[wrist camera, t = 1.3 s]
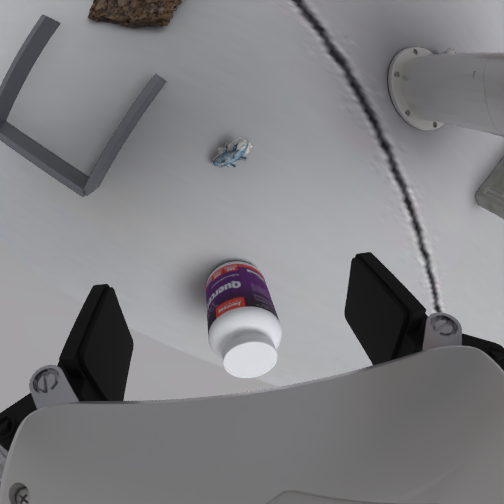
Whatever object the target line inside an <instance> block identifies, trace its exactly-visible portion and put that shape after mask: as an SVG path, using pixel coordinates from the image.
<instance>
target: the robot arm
mask: <svg viewBox="0 0 504 504" xmlns="http://www.w3.org/2000/svg"><path fill="white" fill-rule="evenodd" d="M388 85H389V91H390V96H391V99H392V101H393V104H394V106H395V108H396V110H397V111H398V113H399V114H400V115H401V117H402V118H403V119H404V120H405V121H406V122H407V123H408V124H410V125H411V126H413V127H415V128H417V129H420V130H425V131H433V130H437V129H439V128H440V127H442V126H443V125H444V124H451V125H456V126H461V127H465V128H470V129H474V130H479V131H483V132H487V133H491V134H494V135H498V136H502V137H504V53H458V54H456V52H455V51H454V49H452V48H448V49H447V50H446V52H445V54H434V53H432V52H431V51H429V50H427V49H424V48H421V47H409V48H406V49H403V50H401V51H400V52H398V53H397V54H396V56H395V57H394V58H393V60H392V62H391V64H390V68H389V74H388ZM425 312H426V309H425V308H424V307H423V305H422V304H421V303H420V302H419V301H418V300H417V299H416V298H415V297H414V296H413V295H412V294H411V293H410V292H409V291H408V289H407V288H406V287H405V286H404V285H403V284H402V283H401V282H400V281H399V280H398V279H397V278H396V277H395V276H394V275H393V274H392V273H391V272H390V271H389V270H388V269H387V268H386V267H385V266H384V265H383V264H382V263H381V262H380V261H379V260H378V259H377V258H376V257H375V256H374V255H373V254H372V253H370V252H367V253H360V254H357V255H356V256H355V258H353V259H352V261H351V269H350V277H349V285H348V292H347V299H346V305H345V318H346V320H347V322H348V324H349V325H350V327H351V329H352V330H353V332H354V334H355V335H356V337H357V338H358V340H359V342H360V343H361V345H362V347H363V348H364V350H365V352H366V354H367V355H368V357H369V359H370V360H371V362H372V364H373V366H369V367H366V368H362V369H358V370H355V371H351V372H347V373H343V374H339V375H335V376H330V377H326V378H322V379H317V380H312V381H308V382H303V383H298V384H293V385H287V386H282V387H276V388H270V389H264V390H258V391H251V392H244V393H236V394H229V395H219V396H211V397H199V398H188V399H174V400H173V399H172V400H151V401H150V400H149V401H123V399H124V393H125V387H126V382H127V377H128V371H129V366H130V361H131V356H132V351H133V339H132V337H131V334H130V332H129V329H128V327H127V324H126V321H125V319H124V316H123V313H122V311H121V308H120V305H119V302H118V299H117V297H116V294H115V291H114V289H113V288H112V287H109V285H108V284H102V285H94V286H93V287H92V289H91V291H90V293H89V295H88V297H87V299H86V301H85V303H84V305H83V307H82V309H81V311H80V313H79V315H78V317H77V319H76V322H75V324H74V326H73V328H72V330H71V332H70V335H69V337H68V339H67V341H66V343H65V346H64V348H63V350H62V353H61V355H60V358H59V363H58V365H57V366H56V365H47V366H44V367H42V368H40V369H39V370H37V371H36V372H35V373H34V374H33V375H32V377H31V379H30V383H29V388H30V391H31V393H30V394H28V395H27V396H25V397H24V398H22V399H21V400H19V401H18V402H17V403H15V404H13V405H12V406H10V407H9V408H7V409H6V410H4V411H3V412H1V413H0V504H504V348H503V347H502V346H501V345H499V344H496V343H494V342H490V341H487V340H483V339H480V338H476V337H473V336H469V335H466V334H462V328H461V325H460V323H459V322H458V320H456V319H455V318H454V317H453V316H451V315H449V314H446V313H433V314H431V315H430V316H429V317H428V316H427V315H426V314H425Z"/></svg>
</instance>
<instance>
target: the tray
mask: <svg viewBox="0 0 504 504" xmlns="http://www.w3.org/2000/svg"><path fill="white" fill-rule="evenodd" d="M59 25H60V23H59V22H57V21H55V20H53V19H51V18H49V17H47V16H45V15H42V16H41V17H40V19H39V20H38V22H37V23H36V25H35V26H34V28H33V29H32V31H31V32H30V34H29V35H28V37H27V38H26V40H25V42H24V43H23V45H22V47H21V48H20V50H19V52H18V53H17V55H16V57H15V59H14V61H13V62H12V64H11V66H10V68H9V70H8V72H7V74H6V76H5V78H4V80H3V82H2V84H1V86H0V140H1V141H2V142H4V143H5V144H6V145H8V146H9V147H11V148H12V149H13V150H15V151H16V152H18V153H19V154H20V155H22V156H23V157H25V158H26V159H27V160H29V161H30V162H32V163H33V164H35V165H36V166H38V167H39V168H40V169H42V170H43V171H45V172H46V173H48V174H49V175H51V176H52V177H54V178H55V179H57V180H58V181H60V182H61V183H62V184H64V185H65V186H67V187H68V188H70V189H71V190H73V191H75V192H76V193H78V194H79V195H81V196H82V197H84V196H85V195H87V196H88V195H89V194H90V193H92V192H93V191H94V190H95V189H97V188H98V187H99V185H100V183H101V182H102V180H103V178H104V176H105V174H106V173H107V171H108V169H109V167H110V166H111V164H112V162H113V160H114V159H115V157H116V155H117V154H118V152H119V150H120V149H121V147H122V145H123V144H124V142H125V141H126V139H127V137H128V136H129V134H130V133H131V131H132V130H133V128H134V127H135V125H136V124H137V122H138V121H139V119H140V118H141V116H142V115H143V113H144V112H145V110H146V109H147V108H148V106H149V105H150V103H151V102H152V101H153V99H154V98H155V96H156V95H157V94H158V92H159V91H160V90H161V88H162V87H163V86H164V84H165V83H166V81H165V80H164V79H163V78H161V77H160V76H158V75H157V74H155V75H154V76H153V78H152V79H151V80H150V82H149V83H148V84H147V86H146V87H145V88H144V90H143V91H142V93H141V94H140V95H139V97H138V98H137V100H136V101H135V102H134V104H133V105H132V107H131V108H130V110H129V111H128V113H127V114H126V116H125V117H124V119H123V120H122V122H121V124H120V125H119V127H118V128H117V130H116V132H115V133H114V135H113V136H112V138H111V140H110V141H109V143H108V145H107V146H106V148H105V150H104V152H103V153H102V155H101V157H100V159H99V160H98V162H97V164H96V166H95V168H94V170H93V172H92V173H91V175H90V177H88V176H87V175H85V174H84V173H82V172H81V171H79V170H78V169H76V168H74V167H73V166H71V165H70V164H68V163H67V162H65V161H64V160H62V159H61V158H59V157H58V156H56V155H55V154H53V153H52V152H50V151H49V150H47V149H46V148H44V147H43V146H41V145H40V144H39V143H37V142H36V141H34V140H33V139H31V138H30V137H28V136H27V135H25V134H24V133H22V132H21V131H19V130H18V129H17V128H15V127H14V126H12V125H11V124H9V123H8V122H6V119H7V117H8V114H9V112H10V110H11V108H12V105H13V103H14V101H15V99H16V97H17V95H18V93H19V91H20V89H21V87H22V85H23V83H24V81H25V79H26V77H27V75H28V74H29V72H30V70H31V68H32V67H33V65H34V63H35V61H36V60H37V58H38V56H39V55H40V53H41V51H42V50H43V48H44V47H45V45H46V44H47V42H48V41H49V39H50V38H51V36H52V35H53V33H54V32H55V30H56V29H57V27H58V26H59Z"/></svg>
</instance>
